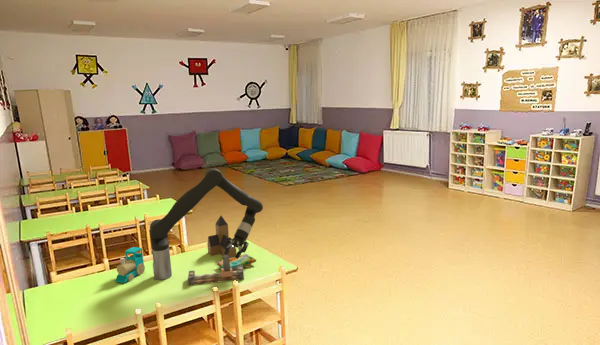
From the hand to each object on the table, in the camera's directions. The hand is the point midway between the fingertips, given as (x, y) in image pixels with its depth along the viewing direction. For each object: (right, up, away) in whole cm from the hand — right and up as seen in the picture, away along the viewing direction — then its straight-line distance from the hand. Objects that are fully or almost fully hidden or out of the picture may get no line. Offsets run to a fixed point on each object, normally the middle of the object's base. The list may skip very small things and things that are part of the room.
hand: (230, 256), depth 231 cm
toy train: (-59, -13, +3) cm, 60 cm away
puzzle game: (+1, -9, +14) cm, 16 cm away
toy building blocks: (-11, -6, +31) cm, 33 cm away
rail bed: (-8, -12, -2) cm, 14 cm away
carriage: (-2, -10, -1) cm, 10 cm away
